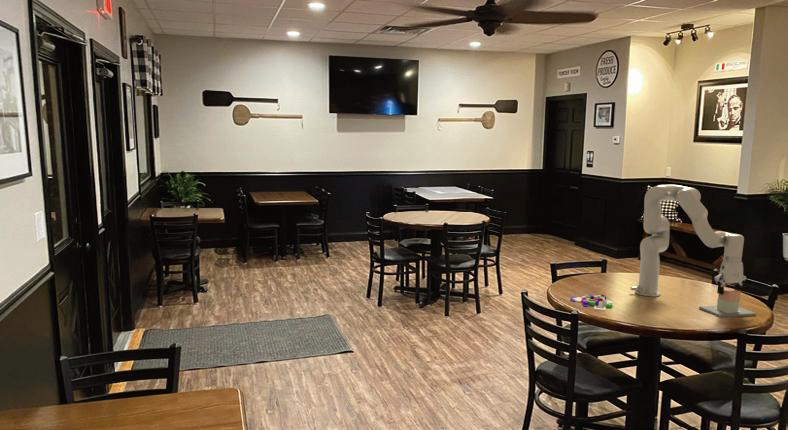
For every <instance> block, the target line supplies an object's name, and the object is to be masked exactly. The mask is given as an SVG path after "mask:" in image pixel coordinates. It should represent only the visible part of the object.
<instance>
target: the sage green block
mask: <svg viewBox="0 0 788 430" xmlns="http://www.w3.org/2000/svg"><path fill="white" fill-rule="evenodd" d="M716 303H717V304H716V306H717V308H718V309H721V310H723V311H726V312H735V311H738V307H740V301H738V302H727V301H724V300H721V299H718V298H717V302H716Z"/></svg>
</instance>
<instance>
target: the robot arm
mask: <svg viewBox="0 0 788 430" xmlns="http://www.w3.org/2000/svg"><path fill="white" fill-rule="evenodd" d="M701 198H702V196H701V193H700V191H699V190H698V189H696V188H695V187H690V186H689V187H688V186H683V185H678V184H658V185H656V186H653V187H651V188H650V189H648V190H647V191H646V193H645V196H644V200H643V201H644V203H643V205H644V206H643V208H644V210H643V230H644V232H645V233H646V234H649V235H650V236H646V237H645V238H643V239H642V240H641V241H640V244H639V251H640V262H639V264H640V265H639V276H638V284H636V286H631V287H630V291H634V293H635V294H636V295H637V294H638V295H640V296H645V297H653V298H654V297H660V296H661V291H658V290H659V289H658V288H659V287H658V286H659V277H660V265H661V264H660V263H661V262H660V261H661V260H660V254H661V253H663V252H665V251H667V250H668V248H669V245H670V231H671V230H670V227H671V226H670V225H671V224H670V221H669V219H668V218H667V217H666V216H664V215H662V213H663V212H662V211H663V209H662V204H661V203H662V202H665V201H666V202H667V201H674V202H677V203H678V204H679V205H680V207H681V208H682V209H683V211H684V212H685V214H687V216H688V218H689V219H690V220H691V222H692V226H693V229H694V232H695V234H696V235H697V236H698V237H699V239H700V240H701V241H702V243H703V244H704V245H705V246H706V247H708V248H711V249H714V248H720V247H724V251H723V252H724V253H723V256H722V262H721V265H720V268H719V274H718V275H716V276H714V277H713V278H714V281H715V284H716V285H717V289H716V290H717V291H716V293H717V294H718V295H719V294H721V295H723V292H724V288H725V287H724V286H725V285H726V284H734V288H733V289H735V290H738V291H741V288H742V287H743V284H745V281H746V279H747V276H746V275H744V263H743V262H742V257H743V251H744V242H745V237H744V236H743V235H742V234H738V233H730V232H726V231H721V230H717V231H715V230H714V229H713V228H712V226H711V225H710V223H709V221H708V215H709V213H708V212H709V211H708V209H707V208H706V207H705V205H703V203H702V202H701Z"/></svg>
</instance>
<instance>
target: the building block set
mask: <svg viewBox="0 0 788 430" xmlns="http://www.w3.org/2000/svg"><path fill="white" fill-rule="evenodd" d="M569 301H571V303H572V302H574V303H575V302H576V303H577V302H578V303H582V306H583V307H584V308H588V307H589V306H593V305H594V307H593V311H595V310H596V311H604V312H605V311H606V307H608V308H609V309H613V304H614V303H613V301H611V300H607V296H606V295H605V294H598V295H593V294H591V293H588V294H585V295H584V296H583V295H582V297H580V296H578V297H577V296H575V295H574V296H571V297H570V300H569Z"/></svg>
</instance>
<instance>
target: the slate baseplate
mask: <svg viewBox="0 0 788 430" xmlns="http://www.w3.org/2000/svg"><path fill="white" fill-rule="evenodd" d="M698 309H699V310H700V311H703V312H706V313H709V314H711V315H713V316H716V317H717V318H736V317H737V318H738V317H741V316H742V317H755V316H757V312H754V311H751V310H749V309H747V308H743V307H740V306H739V307H738V311H735V312H726V311H723V310H721V309H718V308H717V305H706V306H705V305H704V306H699V307H698Z"/></svg>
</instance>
